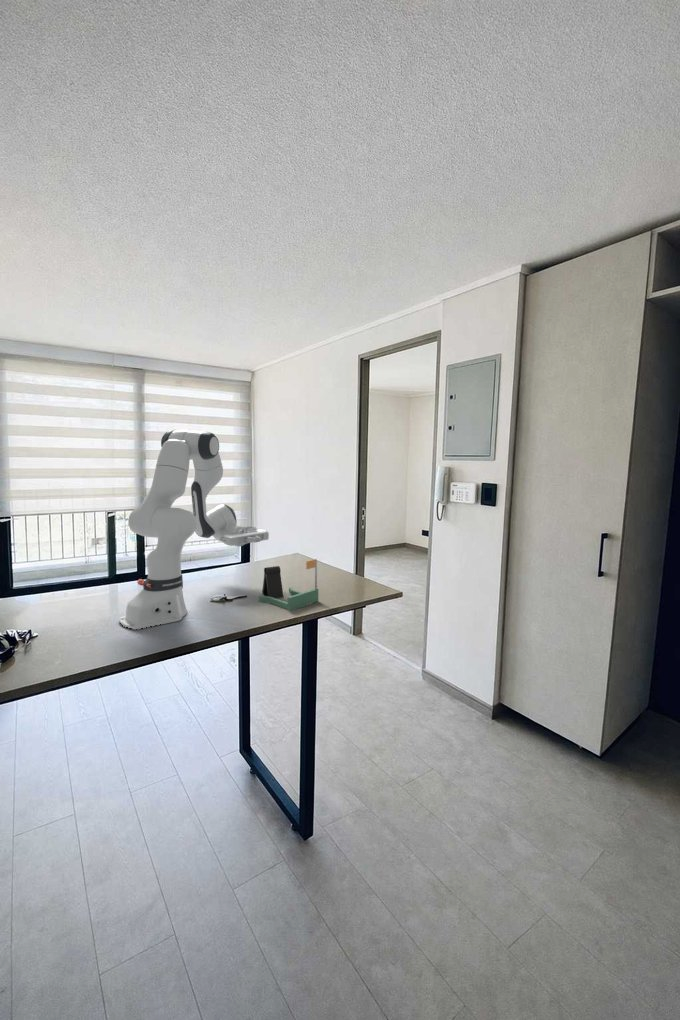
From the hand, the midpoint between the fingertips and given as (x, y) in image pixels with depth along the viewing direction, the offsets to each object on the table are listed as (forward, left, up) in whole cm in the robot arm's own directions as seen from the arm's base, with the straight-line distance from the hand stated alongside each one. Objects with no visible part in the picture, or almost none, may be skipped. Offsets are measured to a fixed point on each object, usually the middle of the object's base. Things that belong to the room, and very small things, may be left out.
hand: (257, 540), depth 186 cm
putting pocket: (0, -19, -22) cm, 29 cm away
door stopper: (0, -9, -22) cm, 24 cm away
